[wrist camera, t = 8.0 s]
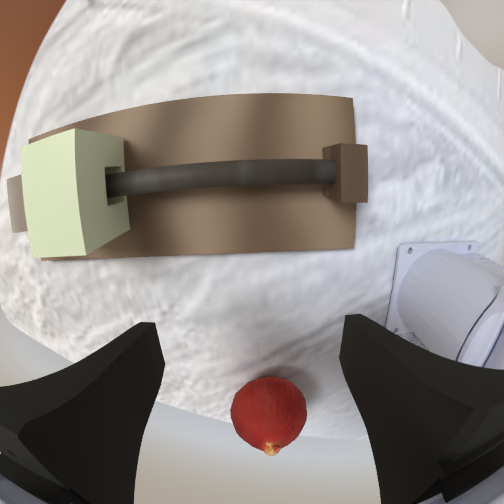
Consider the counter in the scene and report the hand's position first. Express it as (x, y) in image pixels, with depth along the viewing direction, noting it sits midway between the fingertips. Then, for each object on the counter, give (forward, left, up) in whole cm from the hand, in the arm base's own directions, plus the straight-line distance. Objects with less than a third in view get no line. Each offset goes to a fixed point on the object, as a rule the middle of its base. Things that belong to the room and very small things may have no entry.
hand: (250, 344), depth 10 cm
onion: (-1, +11, -10) cm, 15 cm away
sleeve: (+10, -6, -8) cm, 14 cm away
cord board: (+5, -6, -9) cm, 12 cm away
